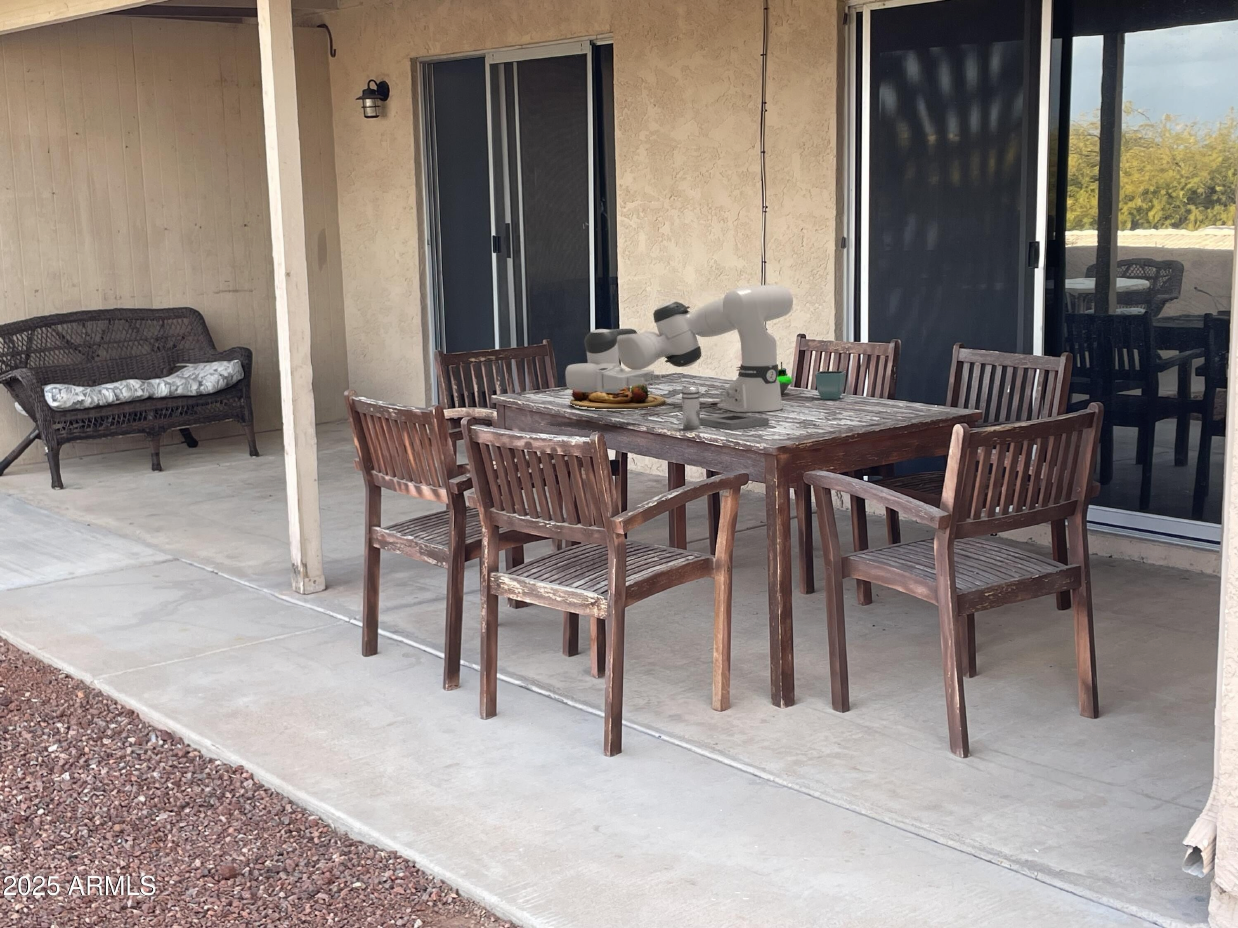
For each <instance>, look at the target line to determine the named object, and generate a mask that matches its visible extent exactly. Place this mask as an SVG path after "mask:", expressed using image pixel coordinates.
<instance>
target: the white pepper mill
mask: <svg viewBox="0 0 1238 928" xmlns="http://www.w3.org/2000/svg"><path fill="white" fill-rule="evenodd" d="M700 396H701V395H700V387H699V386H682V387H681V407H682V408H681V409H682V430H685V431H687V430H690V431H692V430H694V431H695V430H699V429H701V425H700V417H701V415H700V414H701V412H700V411H701V410H700V405H701V404H700Z"/></svg>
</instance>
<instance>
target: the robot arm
mask: <svg viewBox="0 0 1238 928" xmlns="http://www.w3.org/2000/svg"><path fill="white" fill-rule="evenodd" d="M793 305H794V299H793V294H792V292H791V291H790V290H789V288H787V287H785V286H782V285H777V284H761V285H749V286H740V287H736V288H734V289H731V290H729V291H728V292H726V293H725V295H724V297H722V298H719V299H717V300H714V301H711V302H709V303H707V304H704V305H703V306H701V307H700V308H698V309H695V310H694V311H690V310H689V309H690V308H691V307H690V306H689V305H687V306H686V305H685V304H683V303H681V302H680V301H666V302H664V303H662V304H659V306H657V308H656V309H655V310H653V314H652V315H653V316H652V317H653V321H654V324H655V326H656V328H657V331H658V333H657V332H655V331H644V332H640V333H639V332H638V331H637V330H636V329H633V328H615V329H613V328H611V329H606V328H605V329H604V328H599V329H594V330H591V331H589V333H588V334H587V335H586V336H585V338H584V340H583V342H584V346H585V351H586V358H587V362H585V363H583V362H582V363H573V364H569V365H567V366H566V368H565V372H564V373H565V374H564V380H565V384H566V387H567V389H569V390H572V391H573V390H575V391H580V392H602V393H619V392H620V391H621V390H622V389H623V388H625V387H630V388H631V387H632V386H635V385H639V384H645V385H646V384H649V383H653V382H654V381H655V382H659V381H662V374H659V373H658V374H656V373H655V371H654V369H647V368H648V367H651V365H654V364H655V362H657V361H658V360H660V359H661V358H665V359H666V360H664V363H669V364H670V365H672V366H673V367H676V368H686V367H687V368H688V367H691V366H693V365H694V364H696V363H697V362H698V361H699V360H700V359H701V357H702V348H701V346H700V345H699V341H698V337H697V336H699V337H700V338H712V337H718V336H722V335H724V334H728V333H730V332H733V331H736V330H737V333H738V336H739V340H740V348H741V349H740V350H741V365H740V366H736V371H737V372H738V375H737V377H736V379H735V380H734V381H733V382H731V384H729V385H728V386H727V387H726V389H725V390H724V391H725V392H724V400H723V401H724V402H721V403H717V405H716V408H720V409H723V410H728V411H732V412H735V413H743V412H744V413H745V412H746V413H748V412H751V413H753V412H770V411H771V412H772V411H773V412H774V411H779V410H782V409H783V407H784V406H785V405H784V402H783V401H782V394H781V391H780V383H779V381H778V379H777V376H778V371H779V369H780V368H779V364H778V362H777V361H778V360H777V359H778V357H777V355H778V354H777V350H778V349H777V345H778V344H777V340H776V338H775V337H774V335H772V334H771V333H769V331H768V330H767V327H766V323H767V322H770V321H774V320H777V319H780V318H783V317H786V316H788V315H789V314H790V312H792V309H793ZM620 362H621V363H622V365H623V366H625V367H626V368H627V369H629V370H625V368H623V367H622V365H621V364H620Z"/></svg>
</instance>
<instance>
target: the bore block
mask: <svg viewBox="0 0 1238 928" xmlns="http://www.w3.org/2000/svg"><path fill="white" fill-rule="evenodd" d="M769 419H770V418H769V417H764V416H756V415H750V414H745V413H744V414H743V413H739V412H731V413H724V414H716V415H710V416H700V426H704V427H711V428H717V429H722V430H723V429H724V430H730V431H732V430H733V431H734V430H740V429H750V428H756V427H762V426H769V425H770V424H769V422H770V421H769Z"/></svg>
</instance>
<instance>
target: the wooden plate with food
mask: <svg viewBox="0 0 1238 928" xmlns="http://www.w3.org/2000/svg"><path fill="white" fill-rule="evenodd" d="M571 397H572V399H571V400H570V401H569V404H572V405H575V406H579V407H587V408H595V409H638V408H648V407H655V408H659V407H662V406H664V405H666V399H665V398H664V397H662V396H659V395H653V394H649V389H648V387H647V385H646V383H645V384H639V385H635V386H630V387H625V388H623V389H622V390H621V391H620V392H619V393H602V392H580V391H575V390H572V393H571ZM661 405H662V406H661ZM658 406H659V407H658Z"/></svg>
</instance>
